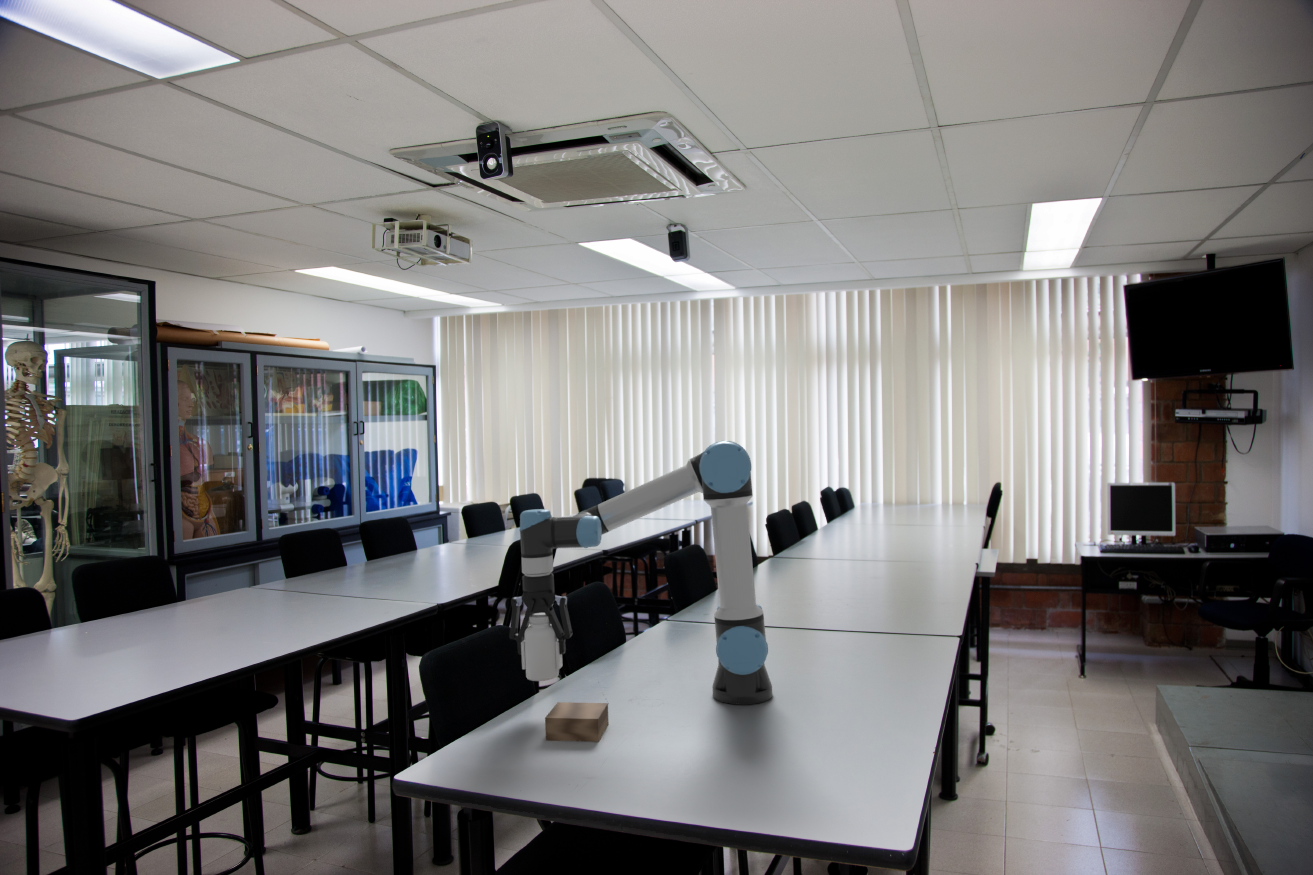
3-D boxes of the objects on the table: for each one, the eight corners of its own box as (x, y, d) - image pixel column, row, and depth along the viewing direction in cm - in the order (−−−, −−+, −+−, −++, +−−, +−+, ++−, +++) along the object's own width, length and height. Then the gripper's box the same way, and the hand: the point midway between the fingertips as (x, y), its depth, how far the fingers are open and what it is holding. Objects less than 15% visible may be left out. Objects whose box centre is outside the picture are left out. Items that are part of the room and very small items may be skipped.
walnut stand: (608, 724, 176) (607, 702, 176) (598, 741, 167) (598, 718, 167) (558, 723, 178) (557, 702, 178) (545, 740, 168) (545, 717, 168)
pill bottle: (553, 682, 180) (550, 618, 180) (521, 681, 181) (518, 618, 182) (564, 671, 188) (560, 611, 188) (533, 671, 189) (530, 611, 189)
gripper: (583, 569, 187) (587, 662, 187) (502, 571, 190) (506, 663, 190) (575, 575, 179) (580, 672, 179) (491, 577, 182) (496, 672, 182)
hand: (542, 667), depth 184 cm, fingers closed on pill bottle, 8 cm apart
